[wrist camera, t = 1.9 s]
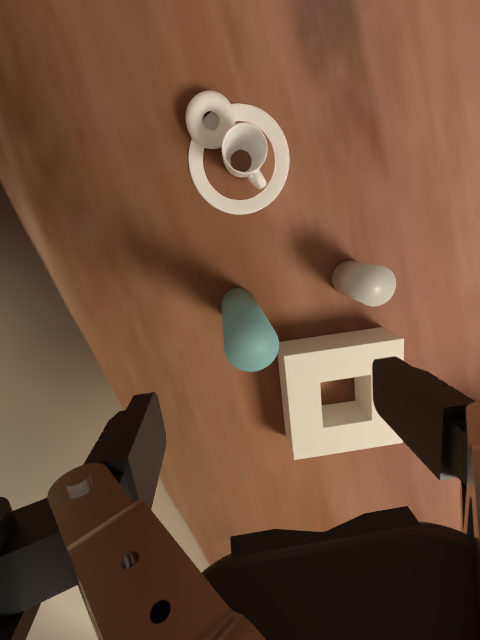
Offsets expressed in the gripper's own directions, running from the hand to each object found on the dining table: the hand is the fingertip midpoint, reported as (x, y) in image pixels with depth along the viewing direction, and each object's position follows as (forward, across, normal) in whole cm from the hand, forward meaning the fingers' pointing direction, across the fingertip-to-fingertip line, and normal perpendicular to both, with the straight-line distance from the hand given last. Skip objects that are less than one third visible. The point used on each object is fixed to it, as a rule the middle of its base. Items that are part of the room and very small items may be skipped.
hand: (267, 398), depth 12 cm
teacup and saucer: (+17, -3, -14) cm, 23 cm away
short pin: (+17, -10, -1) cm, 20 cm away
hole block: (+17, -8, +9) cm, 21 cm away
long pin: (+17, 0, 0) cm, 17 cm away
